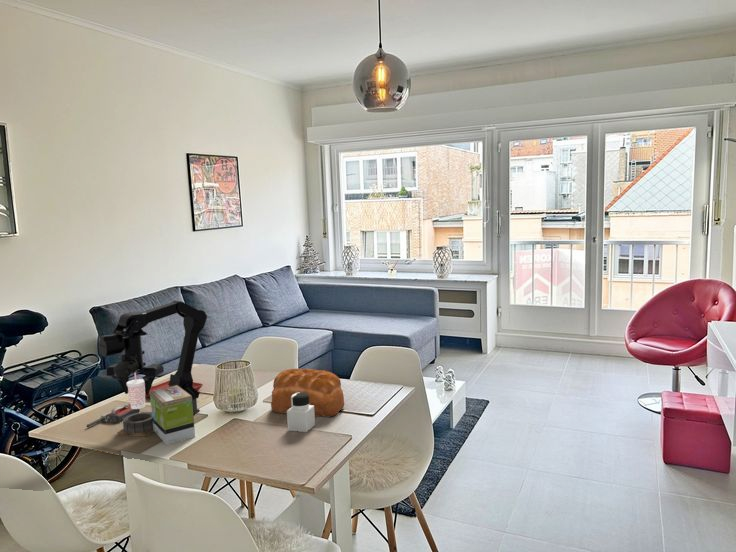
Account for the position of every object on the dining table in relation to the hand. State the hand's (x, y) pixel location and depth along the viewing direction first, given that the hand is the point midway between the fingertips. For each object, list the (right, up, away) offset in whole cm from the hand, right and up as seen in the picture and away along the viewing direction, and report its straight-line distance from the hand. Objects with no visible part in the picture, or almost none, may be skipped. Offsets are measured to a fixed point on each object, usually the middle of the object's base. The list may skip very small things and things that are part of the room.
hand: (137, 394), depth 196 cm
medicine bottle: (+57, -11, -2) cm, 58 cm away
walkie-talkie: (-13, -13, +12) cm, 22 cm away
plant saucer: (-1, -9, +40) cm, 41 cm away
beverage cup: (0, -5, +1) cm, 5 cm away
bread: (+57, -9, +16) cm, 60 cm away
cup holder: (+1, -13, +1) cm, 13 cm away
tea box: (+14, -13, -4) cm, 20 cm away
